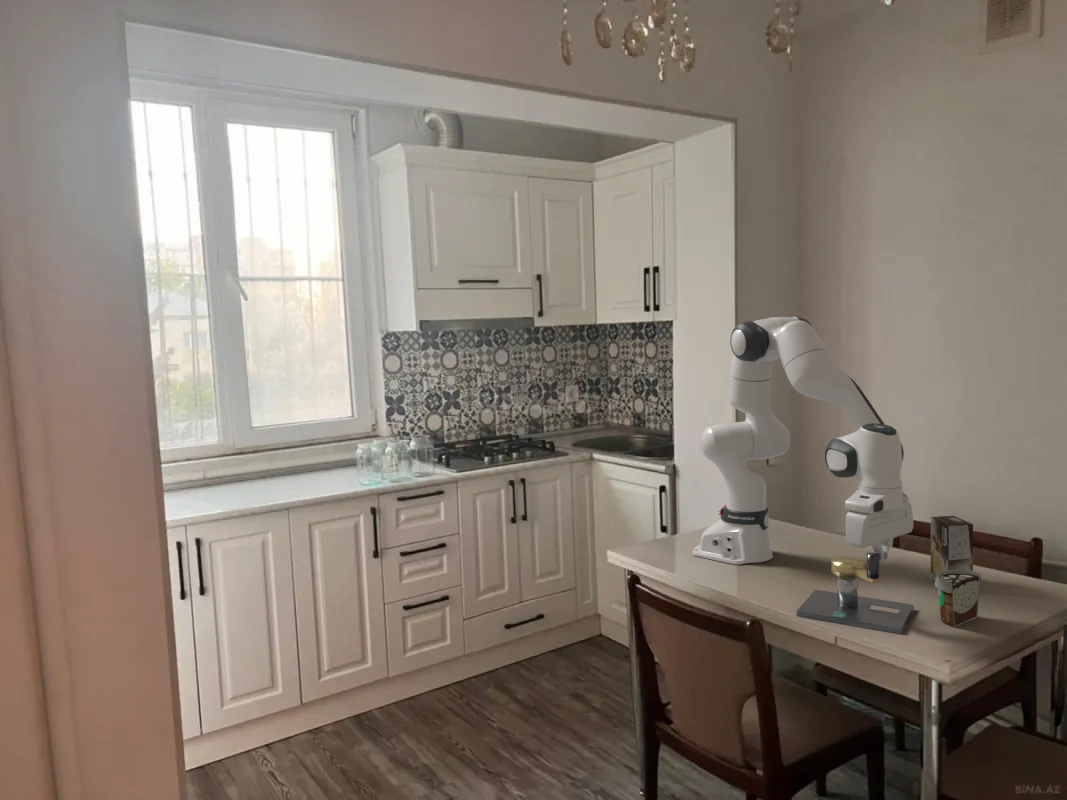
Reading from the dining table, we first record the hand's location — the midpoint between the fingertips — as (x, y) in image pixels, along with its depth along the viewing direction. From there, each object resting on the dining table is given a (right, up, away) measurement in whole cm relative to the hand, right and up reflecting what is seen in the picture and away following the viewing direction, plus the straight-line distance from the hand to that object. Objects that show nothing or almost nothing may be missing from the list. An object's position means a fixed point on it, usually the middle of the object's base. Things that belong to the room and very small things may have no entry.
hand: (881, 559), depth 173 cm
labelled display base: (-3, -14, +6) cm, 15 cm away
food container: (+16, -14, +1) cm, 21 cm away
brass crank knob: (-4, -5, +5) cm, 8 cm away
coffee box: (+28, -11, +23) cm, 38 cm away
